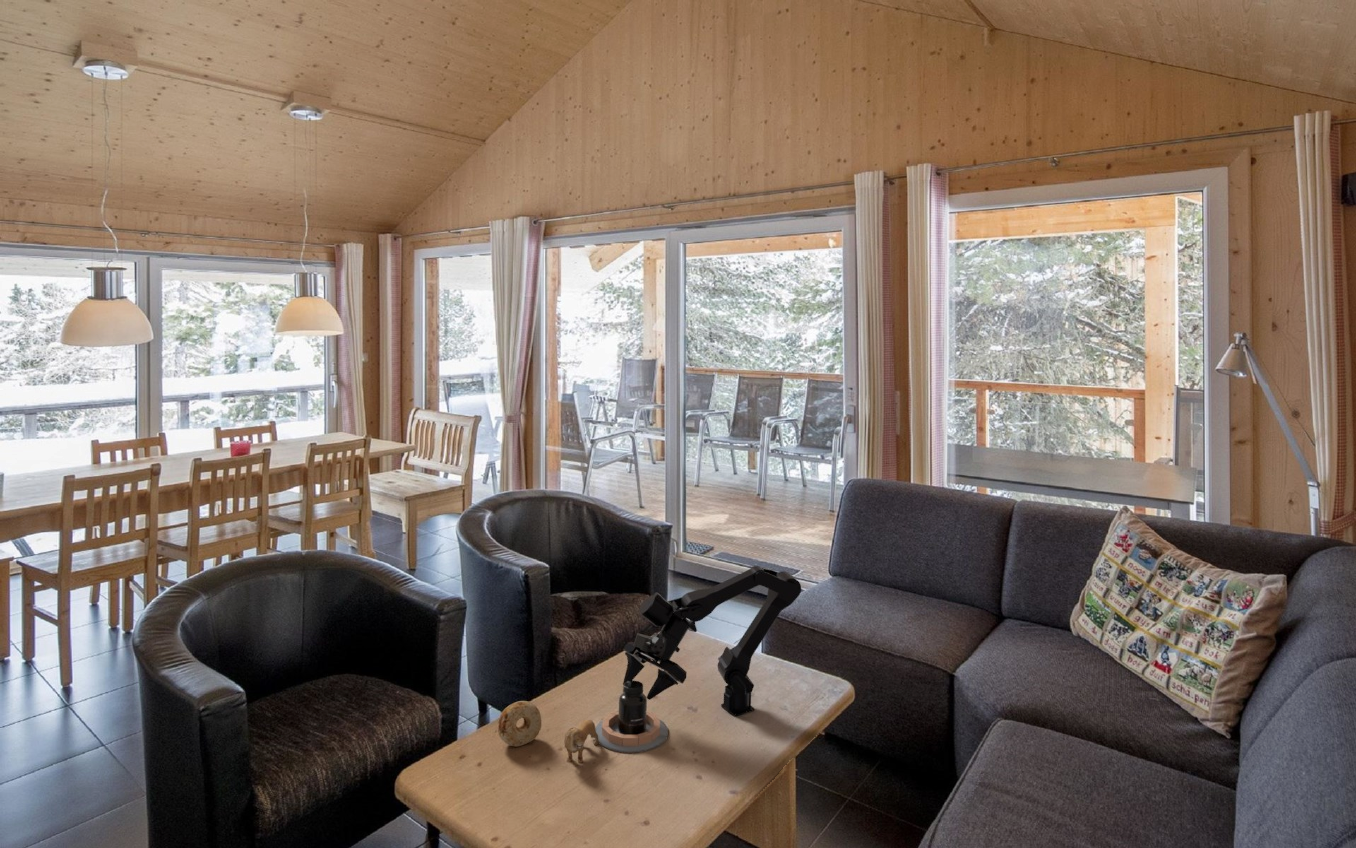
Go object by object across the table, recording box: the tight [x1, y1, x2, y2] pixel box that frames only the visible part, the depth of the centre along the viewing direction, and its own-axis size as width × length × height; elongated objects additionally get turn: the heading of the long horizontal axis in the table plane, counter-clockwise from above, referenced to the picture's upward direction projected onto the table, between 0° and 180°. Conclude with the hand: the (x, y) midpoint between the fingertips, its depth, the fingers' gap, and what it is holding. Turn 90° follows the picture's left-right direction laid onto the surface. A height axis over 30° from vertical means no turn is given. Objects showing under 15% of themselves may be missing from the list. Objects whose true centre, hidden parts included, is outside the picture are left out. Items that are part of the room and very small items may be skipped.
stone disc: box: [497, 700, 542, 747], centre depth 190 cm, size 10×4×10 cm, turn 123°
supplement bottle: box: [618, 680, 648, 735], centre depth 196 cm, size 7×7×12 cm
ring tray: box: [595, 710, 669, 754], centre depth 196 cm, size 18×18×3 cm
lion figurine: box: [563, 719, 600, 764], centre depth 186 cm, size 15×5×9 cm, turn 168°
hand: (635, 692), depth 196 cm, fingers open, 9 cm apart
